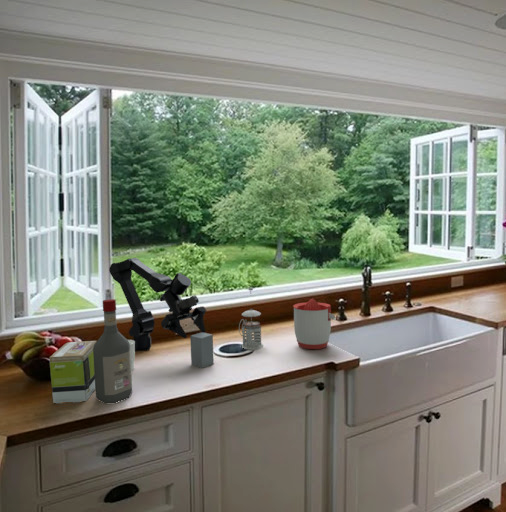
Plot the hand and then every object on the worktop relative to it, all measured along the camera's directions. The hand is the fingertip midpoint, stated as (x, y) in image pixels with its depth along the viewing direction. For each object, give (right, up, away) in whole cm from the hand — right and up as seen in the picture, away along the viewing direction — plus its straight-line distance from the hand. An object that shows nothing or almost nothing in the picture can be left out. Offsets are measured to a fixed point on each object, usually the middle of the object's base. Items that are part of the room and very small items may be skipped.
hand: (195, 334), depth 156 cm
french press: (+21, -9, +19) cm, 29 cm away
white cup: (-25, -12, -5) cm, 28 cm away
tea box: (-34, -14, -25) cm, 44 cm away
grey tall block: (+3, -11, -1) cm, 11 cm away
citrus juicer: (+47, -8, +18) cm, 51 cm away
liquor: (-21, -14, -29) cm, 38 cm away
